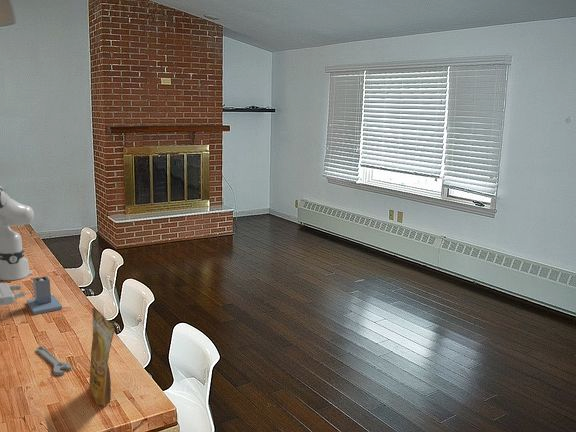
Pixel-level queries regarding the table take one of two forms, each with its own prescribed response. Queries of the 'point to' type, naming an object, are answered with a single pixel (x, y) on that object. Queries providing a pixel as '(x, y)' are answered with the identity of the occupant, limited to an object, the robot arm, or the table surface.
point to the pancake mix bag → (100, 359)
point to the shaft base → (44, 305)
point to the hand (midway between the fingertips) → (22, 290)
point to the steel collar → (42, 290)
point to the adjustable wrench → (54, 361)
